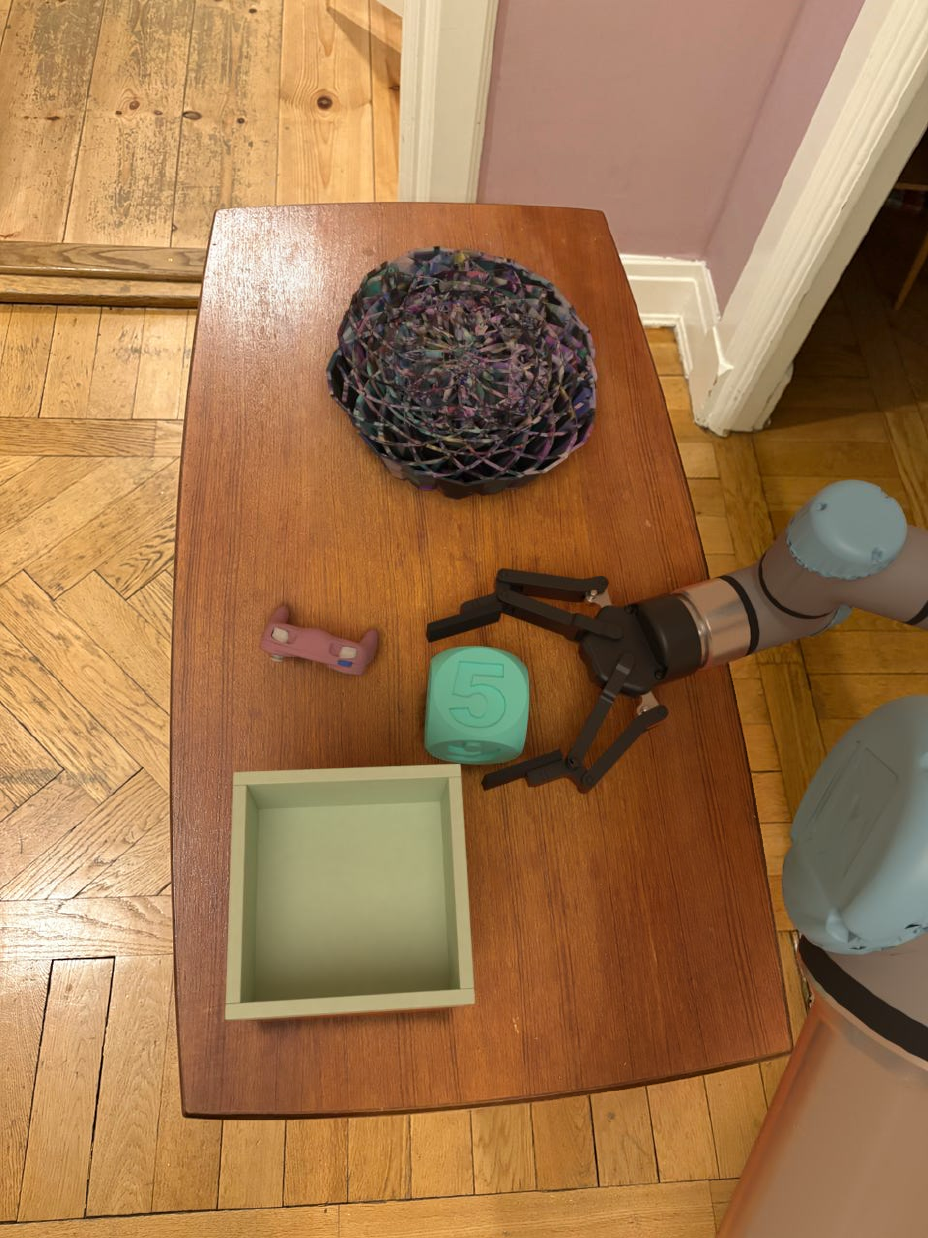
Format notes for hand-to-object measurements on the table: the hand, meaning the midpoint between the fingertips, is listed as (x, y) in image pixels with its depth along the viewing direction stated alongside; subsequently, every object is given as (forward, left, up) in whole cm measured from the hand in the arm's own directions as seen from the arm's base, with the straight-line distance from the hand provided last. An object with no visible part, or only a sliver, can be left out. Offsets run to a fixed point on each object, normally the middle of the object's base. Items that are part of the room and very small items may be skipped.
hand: (454, 706), depth 78 cm
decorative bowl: (+26, -21, -6) cm, 34 cm away
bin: (-9, +16, +10) cm, 21 cm away
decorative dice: (-1, -2, -6) cm, 6 cm away
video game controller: (+12, +5, -6) cm, 15 cm away
